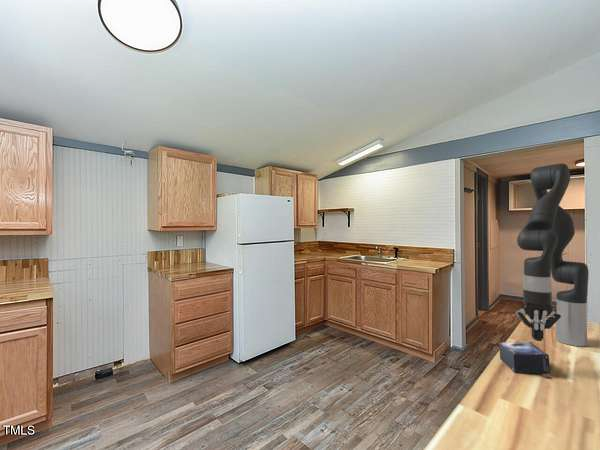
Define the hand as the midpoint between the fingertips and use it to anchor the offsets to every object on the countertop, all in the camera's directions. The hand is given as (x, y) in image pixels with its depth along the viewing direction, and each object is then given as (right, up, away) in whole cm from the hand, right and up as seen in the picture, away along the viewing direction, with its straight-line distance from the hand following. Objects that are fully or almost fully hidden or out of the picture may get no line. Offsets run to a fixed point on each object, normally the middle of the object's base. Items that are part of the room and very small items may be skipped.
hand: (537, 340), depth 99 cm
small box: (+1, -6, 0) cm, 6 cm away
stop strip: (0, -10, 0) cm, 10 cm away
